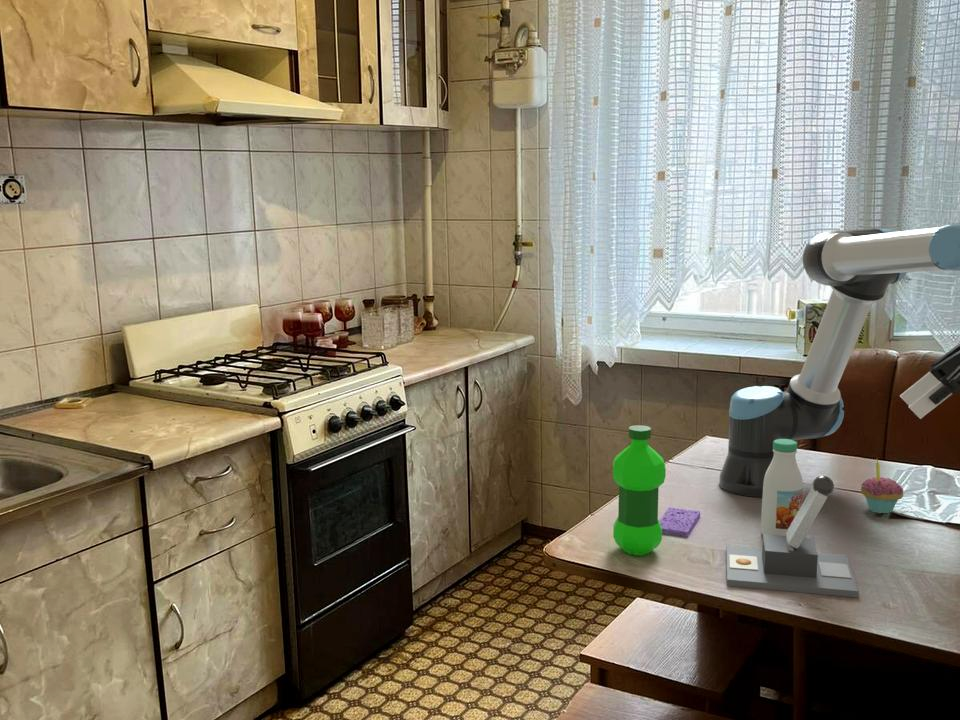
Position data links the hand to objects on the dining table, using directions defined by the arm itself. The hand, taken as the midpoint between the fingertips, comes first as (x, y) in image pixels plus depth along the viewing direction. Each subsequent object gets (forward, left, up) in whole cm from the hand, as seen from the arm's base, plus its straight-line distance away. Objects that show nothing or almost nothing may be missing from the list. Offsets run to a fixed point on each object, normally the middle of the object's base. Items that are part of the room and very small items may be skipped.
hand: (909, 407), depth 158 cm
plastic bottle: (-27, -38, -33) cm, 57 cm away
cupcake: (-31, +22, -33) cm, 50 cm away
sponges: (-37, -24, -33) cm, 55 cm away
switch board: (-9, -16, -33) cm, 37 cm away
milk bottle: (-25, -7, -33) cm, 42 cm away
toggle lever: (-9, -16, -27) cm, 33 cm away
